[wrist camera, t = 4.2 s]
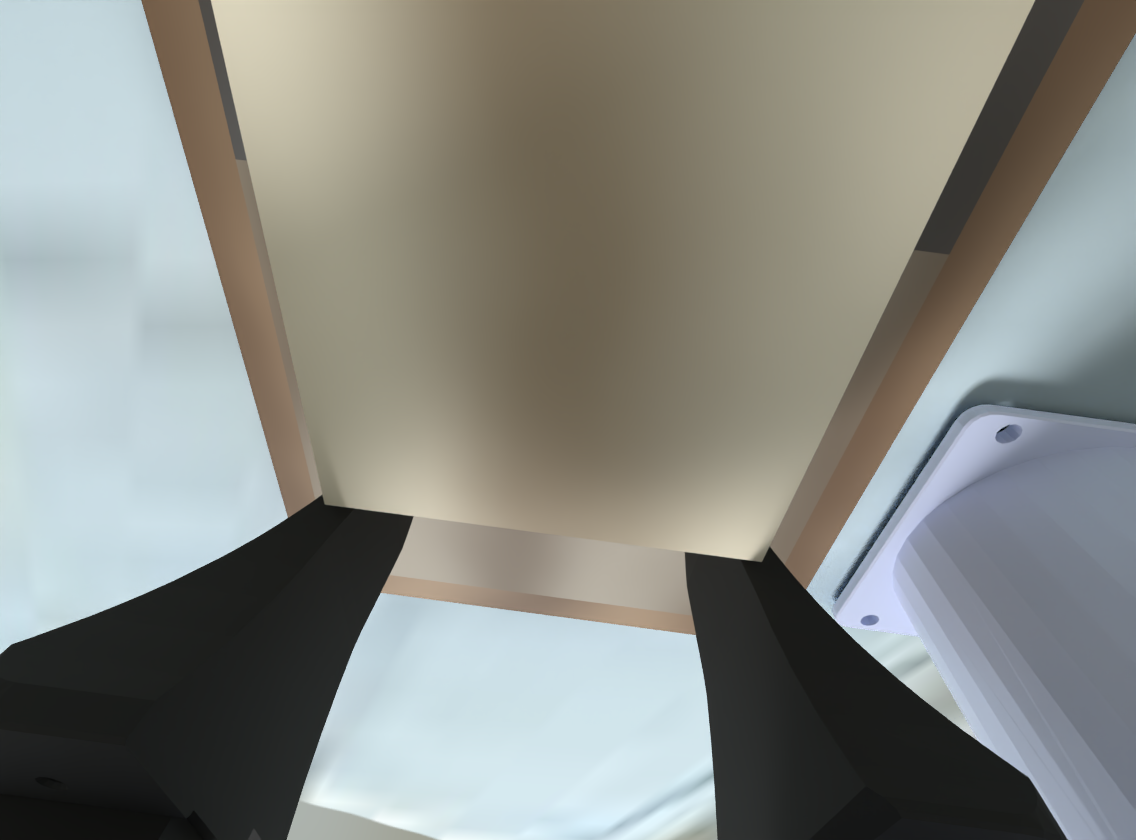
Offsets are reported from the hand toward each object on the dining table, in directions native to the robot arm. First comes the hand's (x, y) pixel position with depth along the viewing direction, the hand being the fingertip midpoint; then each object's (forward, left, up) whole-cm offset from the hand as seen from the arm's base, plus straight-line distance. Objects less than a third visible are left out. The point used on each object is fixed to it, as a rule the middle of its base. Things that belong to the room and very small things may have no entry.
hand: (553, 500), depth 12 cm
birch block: (0, -6, -1) cm, 6 cm away
